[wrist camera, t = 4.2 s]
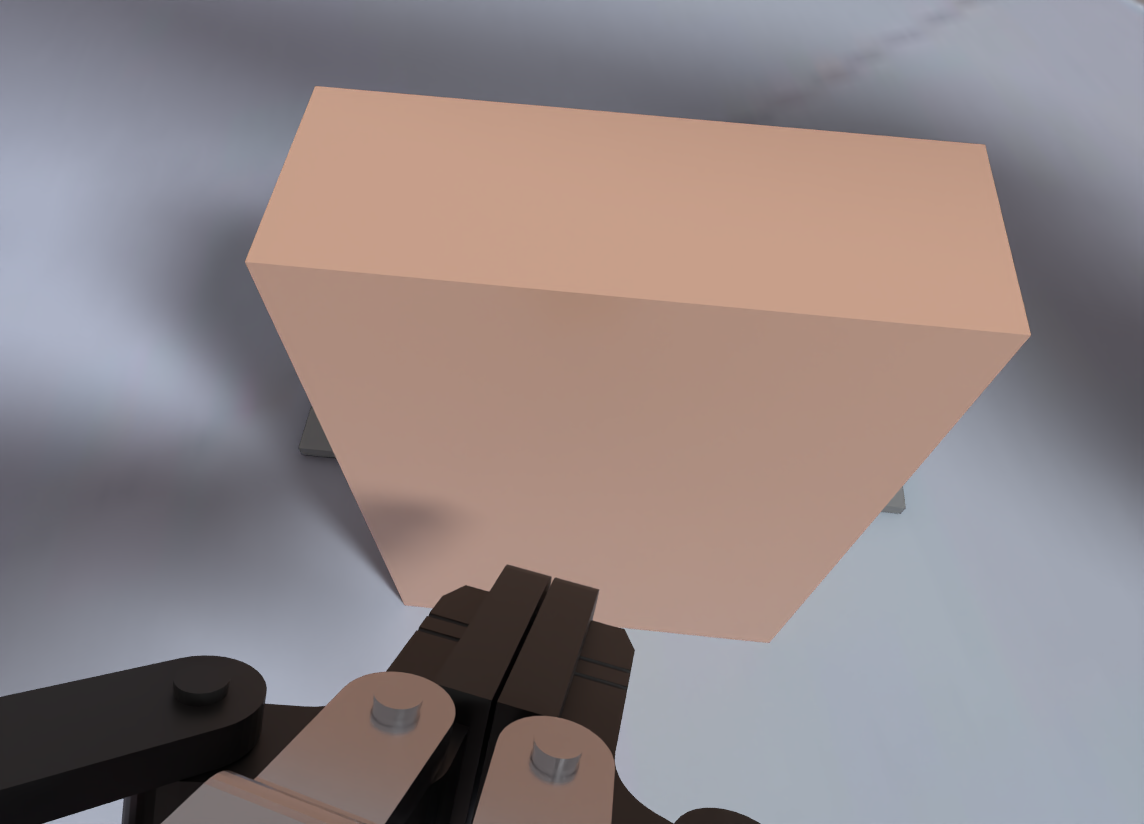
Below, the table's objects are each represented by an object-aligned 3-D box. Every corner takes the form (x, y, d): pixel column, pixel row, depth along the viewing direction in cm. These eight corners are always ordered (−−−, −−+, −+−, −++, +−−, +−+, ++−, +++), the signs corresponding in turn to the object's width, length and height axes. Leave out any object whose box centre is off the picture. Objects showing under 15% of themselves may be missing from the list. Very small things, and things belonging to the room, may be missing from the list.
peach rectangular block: (765, 518, 24) (982, 135, 12) (769, 643, 22) (1030, 335, 10) (429, 484, 24) (318, 77, 12) (404, 604, 22) (244, 262, 11)
